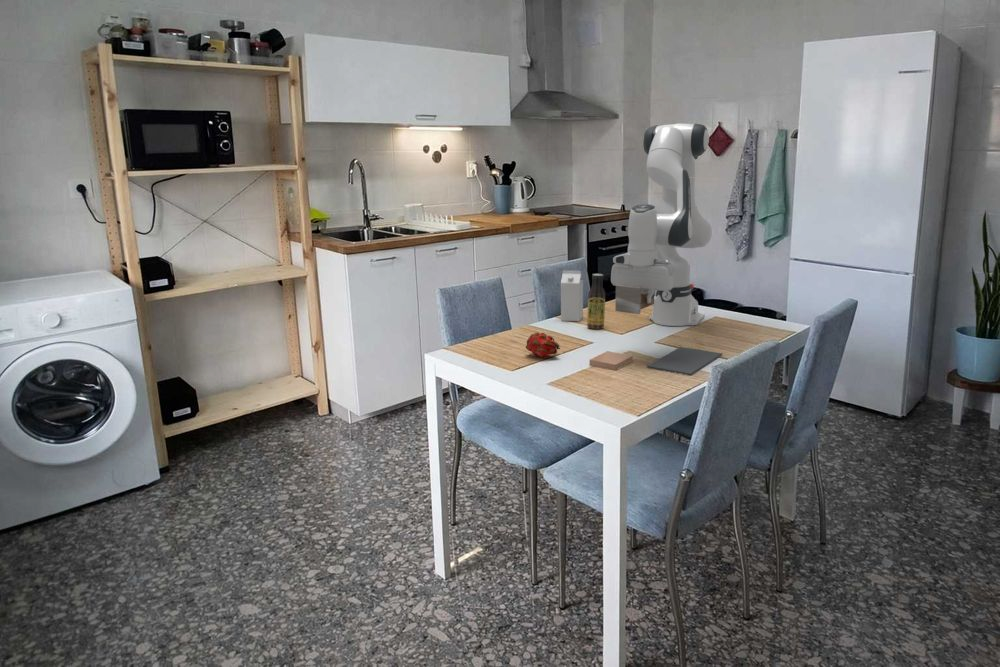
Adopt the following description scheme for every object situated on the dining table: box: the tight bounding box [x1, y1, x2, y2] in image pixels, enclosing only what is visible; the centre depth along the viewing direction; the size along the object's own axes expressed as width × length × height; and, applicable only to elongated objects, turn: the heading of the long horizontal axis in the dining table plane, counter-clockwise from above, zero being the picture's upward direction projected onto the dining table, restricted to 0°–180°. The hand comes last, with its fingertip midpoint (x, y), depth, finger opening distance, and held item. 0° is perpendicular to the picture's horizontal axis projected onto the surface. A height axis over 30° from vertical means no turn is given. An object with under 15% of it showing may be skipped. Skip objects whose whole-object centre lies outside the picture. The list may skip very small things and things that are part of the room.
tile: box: [589, 350, 634, 371], centre depth 217 cm, size 2×9×11 cm
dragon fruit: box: [525, 331, 561, 359], centre depth 225 cm, size 8×8×12 cm
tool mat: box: [646, 346, 723, 376], centre depth 216 cm, size 24×14×1 cm, turn 142°
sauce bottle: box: [586, 273, 606, 330], centre depth 256 cm, size 7×6×20 cm
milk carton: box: [560, 270, 584, 322], centre depth 270 cm, size 7×7×19 cm
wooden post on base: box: [615, 285, 655, 315], centre depth 219 cm, size 15×8×8 cm, turn 141°
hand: (641, 302), depth 221 cm, fingers closed on wooden post on base, 3 cm apart
